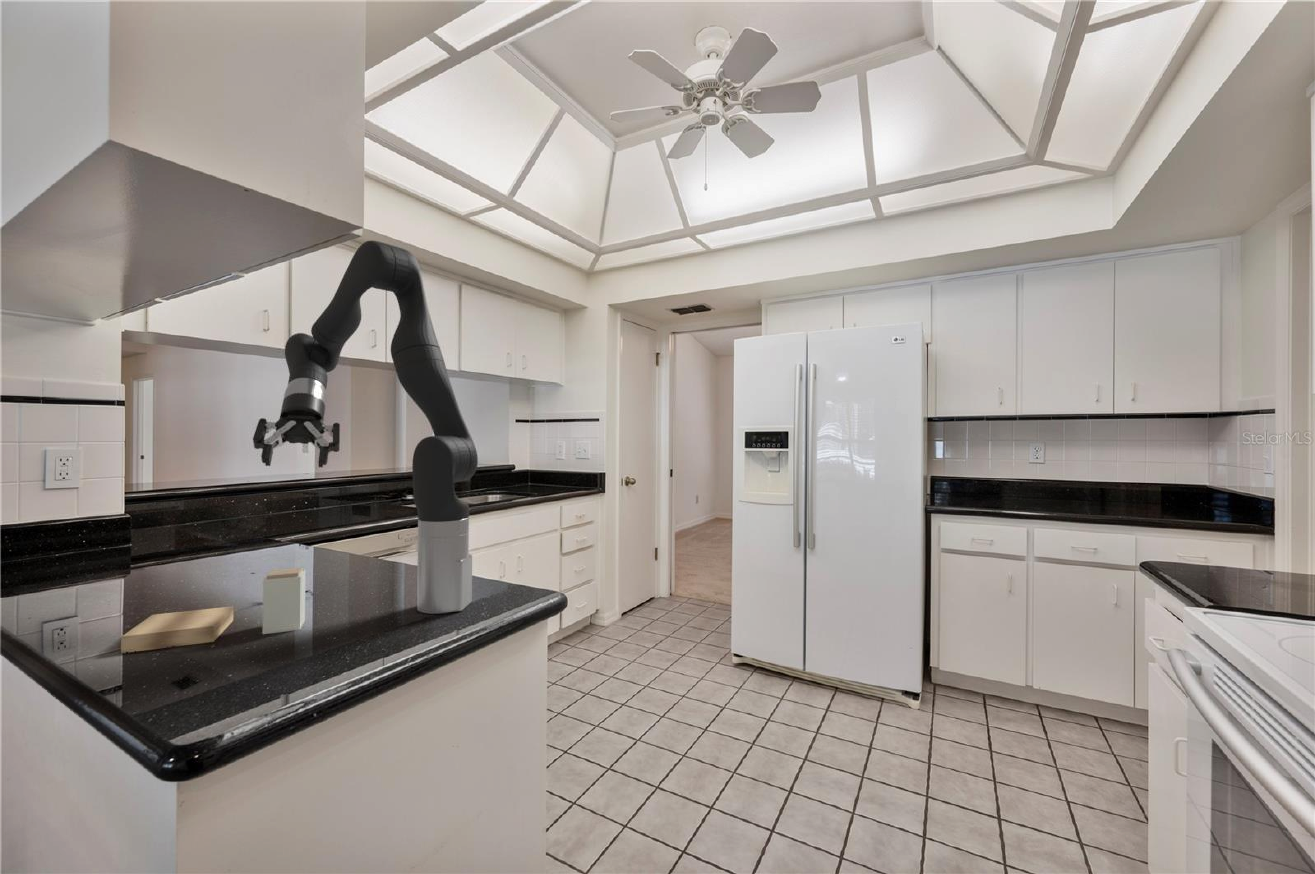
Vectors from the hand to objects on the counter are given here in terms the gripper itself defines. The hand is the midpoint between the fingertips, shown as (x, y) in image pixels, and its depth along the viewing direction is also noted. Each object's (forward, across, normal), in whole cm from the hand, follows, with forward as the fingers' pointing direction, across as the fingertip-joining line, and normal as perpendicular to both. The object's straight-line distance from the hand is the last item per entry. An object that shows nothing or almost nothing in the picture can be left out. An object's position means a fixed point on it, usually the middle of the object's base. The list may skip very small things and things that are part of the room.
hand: (294, 464), depth 102 cm
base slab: (+28, -13, +12) cm, 33 cm away
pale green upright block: (+29, +1, +9) cm, 30 cm away
